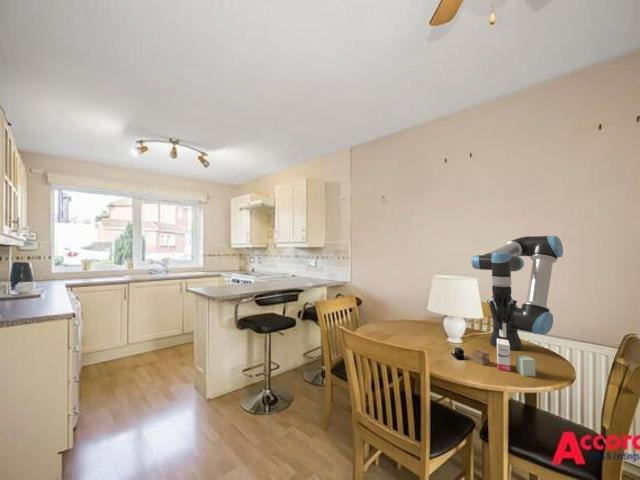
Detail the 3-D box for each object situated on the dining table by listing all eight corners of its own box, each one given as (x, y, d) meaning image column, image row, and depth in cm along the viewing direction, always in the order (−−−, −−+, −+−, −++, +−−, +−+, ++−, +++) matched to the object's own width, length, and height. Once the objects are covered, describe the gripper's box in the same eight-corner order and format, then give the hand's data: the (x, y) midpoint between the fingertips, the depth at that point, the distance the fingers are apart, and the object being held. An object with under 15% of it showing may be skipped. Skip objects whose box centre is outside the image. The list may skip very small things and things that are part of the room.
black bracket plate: (472, 362, 139) (471, 353, 139) (456, 362, 139) (456, 353, 139) (461, 353, 151) (461, 344, 151) (447, 353, 151) (447, 344, 152)
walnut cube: (480, 359, 141) (479, 349, 141) (489, 363, 136) (489, 353, 136) (472, 361, 139) (472, 351, 139) (482, 365, 134) (481, 354, 135)
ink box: (511, 371, 127) (510, 345, 127) (498, 369, 130) (497, 343, 130) (509, 364, 135) (508, 339, 135) (496, 362, 137) (496, 338, 137)
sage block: (528, 371, 127) (528, 355, 128) (535, 376, 122) (535, 360, 123) (516, 370, 128) (516, 355, 128) (522, 375, 123) (522, 359, 123)
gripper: (509, 284, 137) (510, 333, 136) (482, 284, 136) (484, 334, 136) (521, 286, 129) (522, 338, 129) (493, 286, 129) (494, 339, 128)
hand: (502, 336), depth 132 cm, fingers closed
